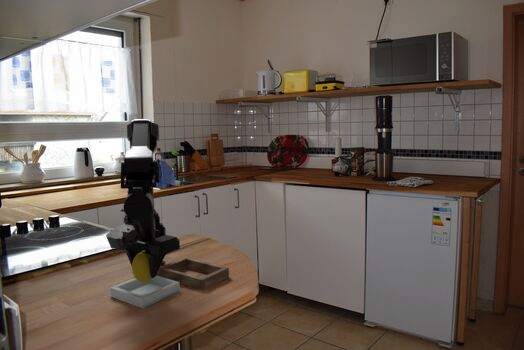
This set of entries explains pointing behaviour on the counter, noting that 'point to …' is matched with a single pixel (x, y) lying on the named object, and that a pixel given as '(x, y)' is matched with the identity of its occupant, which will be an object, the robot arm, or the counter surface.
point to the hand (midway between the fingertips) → (144, 275)
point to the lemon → (141, 267)
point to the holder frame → (172, 273)
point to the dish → (145, 291)
